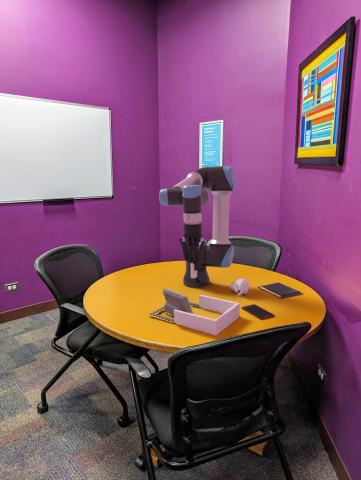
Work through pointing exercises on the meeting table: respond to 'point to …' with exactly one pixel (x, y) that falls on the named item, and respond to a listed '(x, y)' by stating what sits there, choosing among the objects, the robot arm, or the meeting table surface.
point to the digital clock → (176, 302)
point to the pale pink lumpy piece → (240, 286)
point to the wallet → (280, 290)
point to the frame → (167, 317)
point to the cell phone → (258, 312)
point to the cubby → (206, 324)
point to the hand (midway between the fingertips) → (193, 277)
